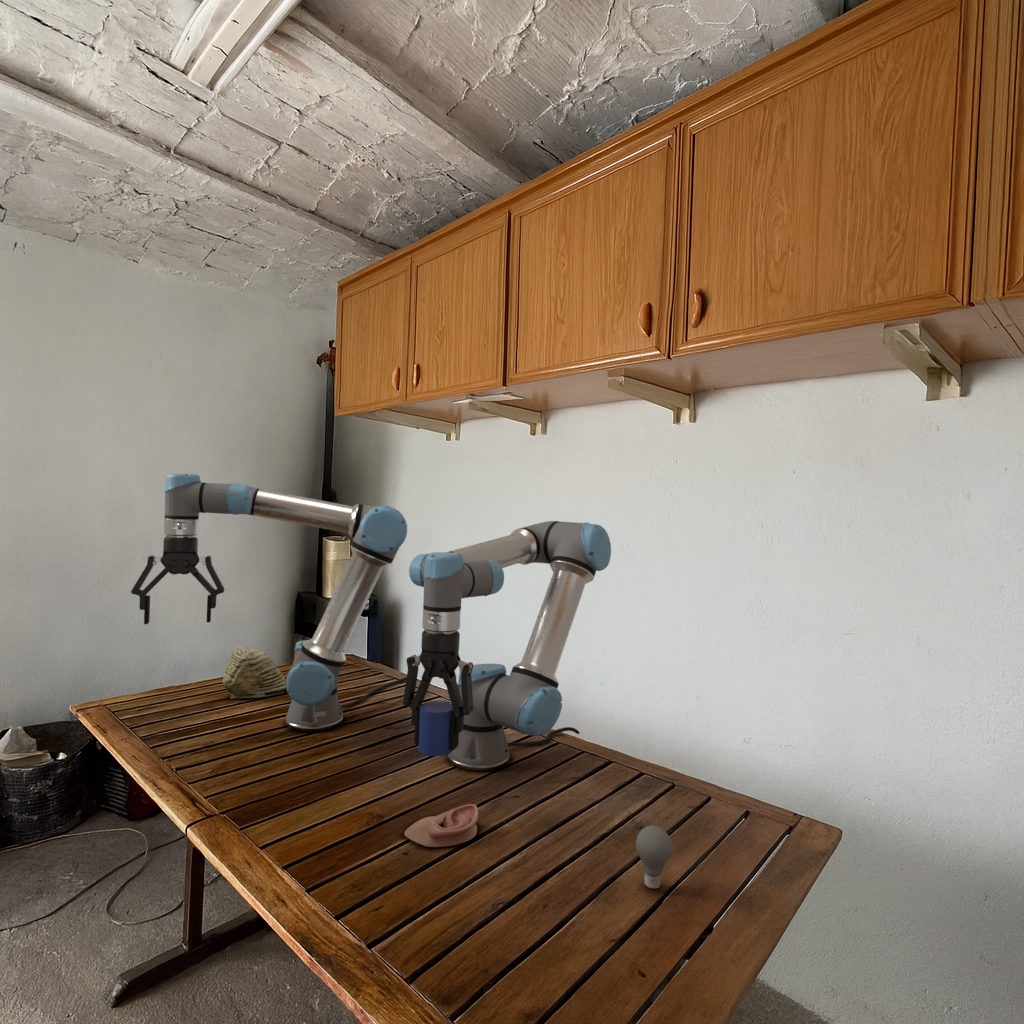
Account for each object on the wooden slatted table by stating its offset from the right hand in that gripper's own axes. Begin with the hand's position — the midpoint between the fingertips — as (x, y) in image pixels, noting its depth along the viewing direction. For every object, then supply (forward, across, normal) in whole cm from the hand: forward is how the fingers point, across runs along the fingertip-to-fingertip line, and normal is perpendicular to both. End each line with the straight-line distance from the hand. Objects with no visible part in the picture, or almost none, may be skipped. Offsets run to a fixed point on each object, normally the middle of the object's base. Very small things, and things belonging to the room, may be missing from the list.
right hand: (436, 744), depth 126 cm
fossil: (+15, -84, +47) cm, 98 cm away
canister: (+1, 0, 0) cm, 1 cm away
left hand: (-16, -74, +7) cm, 76 cm away
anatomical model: (+15, +4, -4) cm, 16 cm away
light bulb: (+15, +44, -6) cm, 47 cm away
